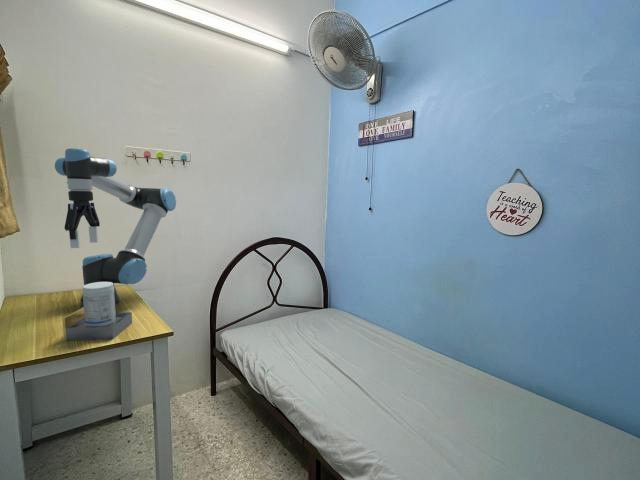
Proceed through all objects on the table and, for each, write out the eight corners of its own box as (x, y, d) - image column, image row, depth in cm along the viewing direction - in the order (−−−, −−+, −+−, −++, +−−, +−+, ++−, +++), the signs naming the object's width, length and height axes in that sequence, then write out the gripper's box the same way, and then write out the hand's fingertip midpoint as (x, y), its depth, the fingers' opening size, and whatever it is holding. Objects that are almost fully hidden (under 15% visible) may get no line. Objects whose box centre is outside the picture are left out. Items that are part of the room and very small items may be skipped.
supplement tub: (95, 318, 122) (92, 281, 120) (121, 318, 123) (119, 281, 121) (78, 328, 112) (75, 288, 111) (107, 328, 113) (104, 288, 112)
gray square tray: (89, 324, 124) (87, 304, 123) (132, 323, 127) (131, 303, 126) (63, 340, 110) (62, 318, 109) (113, 339, 112) (112, 317, 111)
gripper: (86, 190, 133) (91, 240, 136) (48, 189, 109) (54, 250, 112) (106, 190, 134) (110, 240, 137) (72, 190, 110) (78, 250, 113)
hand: (85, 245), depth 125 cm, fingers open, 13 cm apart
